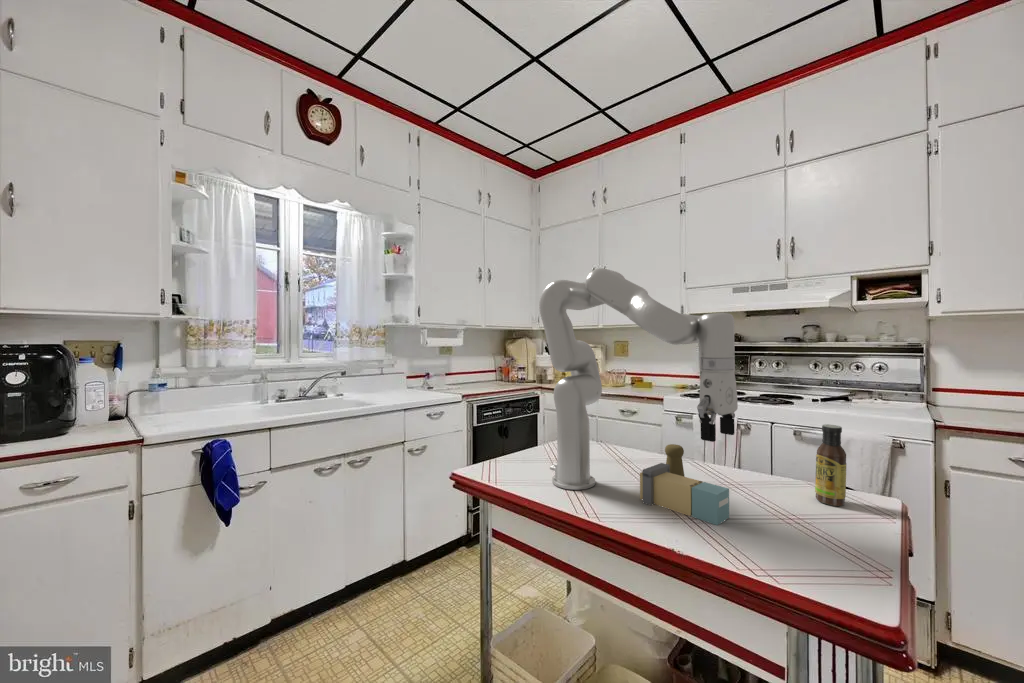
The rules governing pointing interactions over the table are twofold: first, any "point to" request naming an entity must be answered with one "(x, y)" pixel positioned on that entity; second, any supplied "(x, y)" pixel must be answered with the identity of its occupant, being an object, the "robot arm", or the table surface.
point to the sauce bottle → (831, 468)
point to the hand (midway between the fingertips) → (718, 437)
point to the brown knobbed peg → (675, 459)
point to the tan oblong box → (667, 488)
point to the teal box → (710, 503)
